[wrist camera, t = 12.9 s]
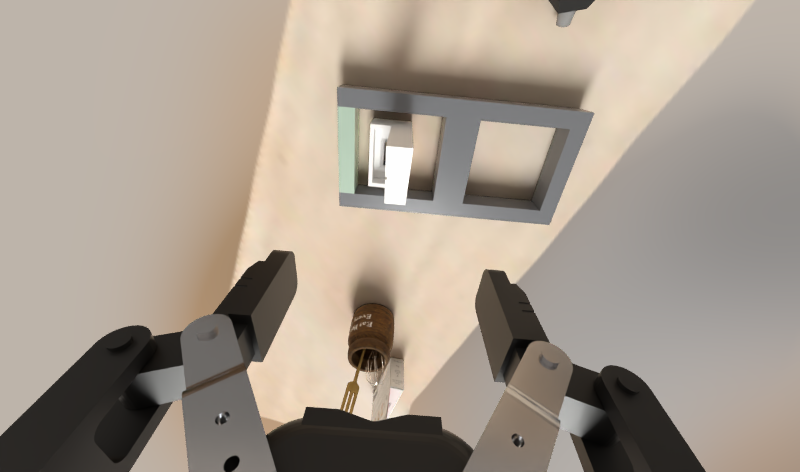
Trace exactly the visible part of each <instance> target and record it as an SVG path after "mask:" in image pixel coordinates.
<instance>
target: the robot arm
mask: <svg viewBox="0 0 800 472" xmlns="http://www.w3.org/2000/svg"><path fill="white" fill-rule="evenodd" d="M296 290H297V273H296V264H295V256H294V253H293V252H291V251H280V250H273V251H272V252H271V254H270V255H269V256H268V258H267V259H266V261H258V262H257V263H255V264H254V265H252V266H251V267H249V268H248V269H247V270H246V271H245V273H244V274H243V275H242V276H241V279H239V280H238V282H237V283H236V284H235V287H233V288H232V289H231V291H230V292H229V293H228V295H227V296H226V297H225V299H224V300H223V301H222V303H221V304H220V305H219V306H218V308H217V309H216V310H215V312H214V313H213V314H211V315H207V316H203V317H201V318H199V319H196V320H195V321H193V322H192V323H190V324H189V325H188V326H187V327H186V328H185V329H184V330H183V331H181V332H176V333H170V334H164V335H158V336H152V334H151V332H150V330H149V329H148V328H146V327H144V326H139V325H137V326H128V327H124V328H121V329H118V330H116V331H113V332H111V333H109V334H107V335H106V336H104V337H102V338H101V339H100V340H98V341H97V342H96V343H95V344H94V345H93V346H92V347H91V348H90V349H89V350H88V351H87V352H86V353H85V354H84V355H83V356H82V357H81V358H80V359H79V360H78V361H77V362H76V363H75V364H74V365H73V366H72V367H71V368H70V369H69V370H68V371H66V372H65V373H64V374H63V375H62V376H61V377H60V378H59V379H58V380H57V381H56V382H55V383H54V384H53V385H52V386H51V387H50V388H49V389H48V390H47V391H46V392H45V393H44V394H43V395H42V396H41V397H40V398H39V399H38V400H37V401H36V402H35V403H34V404H33V405H32V406H31V407H30V408H29V409H28V410H27V411H26V412H25V413H23V414H22V416H21V417H20V418H18V419H17V420H16V421H15V422H14V423H13V424H12V425H11V426H10V427H9V428H8V429H7V430H6V431H5V432H4V433H3V434H2V435H1V436H0V472H129V471H130V470H131V468H132V467H133V465H134V463H135V462H136V460H137V458H138V457H139V455H140V454H141V452H142V450H143V449H144V447H145V446H146V444H147V442H148V441H149V439H150V438H151V436H152V434H153V433H154V431H155V430H156V428H157V426H158V425H159V423H160V422H161V420H162V418H163V417H164V415H165V414H166V412H167V410H168V409H169V407H170V405H171V404H172V402H173V401H177V400H182V408H183V417H184V428H185V437H186V447H187V458H188V466H189V467H188V468H189V472H547V468H548V465H549V462H550V459H551V455H552V452H553V449H554V445H555V442H556V439H557V435H558V431H559V428H560V429H562V430H565V431H567V432H569V433H570V435H571V437H572V440H573V443H574V446H575V448H576V451H577V453H578V456H579V459H580V462H581V464H582V467H583V470H584V472H706V471H705V470H704V468H703V467H702V466H701V464H700V462H699V461H698V459H697V458H696V456H695V455H694V453H693V452H692V450H691V449H690V447H689V446H688V444H687V443H686V442H685V440H684V439H683V437H682V436H681V434H680V432H679V431H678V430H677V428H676V427H675V425H674V424H673V422H672V421H671V419H670V418H669V416H668V415H667V413H666V412H665V410H664V409H663V407H662V406H661V404H660V403H659V401H658V400H657V398H656V397H655V395H654V394H653V392H652V391H651V389H650V388H649V387H648V385H647V384H646V383H645V382H644V381H643V380H642V379H641V378H639V377H638V376H637V375H635V374H634V373H632V372H630V371H628V370H627V369H624V368H622V367H618V366H613V365H610V366H606V367H604V368H603V369H602V371H601V372H600V373H597V372H594V371H591V370H589V369H586V368H583V367H580V366H577V365H575V364H573V363H572V362H571V360H570V359H569V357H568V356H567V355H566V354H565V352H563V351H562V350H561V349H560V348H558V347H557V346H555V345H553V344H551V343H550V342H549V340H548V338H547V336H546V334H545V332H544V330H543V328H542V326H541V325H540V322H539V320H538V318H537V316H536V314H535V313H534V310H533V308H532V306H531V305H530V302H529V300H528V298H527V296H526V294H525V293H524V292H523V291H522V290H521V289H520V288H519V287H518V286H517V285H516V284H510V282H509V280H508V278H507V275H506V273H505V272H504V271H499V270H487V269H486V270H485V271H484V272H483V275H482V279H481V282H480V285H479V289H478V292H477V295H476V300H475V309H476V313H477V317H478V321H479V325H480V329H481V332H482V336H483V340H484V343H485V347H486V351H487V355H488V358H489V363H490V366H491V370H492V374H493V378H494V381H495V382H505V383H506V389H505V391H504V393H503V395H502V397H501V399H500V401H499V403H498V405H497V407H496V409H495V410H494V413H493V414H492V416H491V418H490V420H489V422H488V424H487V426H486V428H485V430H484V432H483V434H482V436H481V438H480V440H479V441H478V443H477V445H476V447H475V449H474V450H473V449H472V448H471V447H470V446H469V445H468V444H467V443H466V442H465V441H463V440H462V439H461V438H459V437H458V436H456V435H455V434H453V433H451V432H449V431H447V430H445V429H442V422H441V417H432V416H418V415H404V416H399V417H394V418H389V419H385V420H380V421H370V420H367V419H364V418H361V417H359V416H356V415H353V414H351V413H348V412H345V411H343V410H340V409H328V408H315V407H306V410H305V413H304V416H303V418H301V419H297V420H294V421H291V422H288V423H286V424H284V425H281V426H280V427H278V428H277V429H274V430H273V431H271V432H270V433H269V434H267V435H266V434H265V431H264V428H263V424H262V421H261V418H260V414H259V411H258V408H257V404H256V401H255V398H254V394H253V391H252V388H251V384H250V381H249V378H248V374H247V371H246V370H247V368H248V366H249V365H250V363H251V361H255V362H263V360H264V358H265V356H266V354H267V352H268V350H269V348H270V345H271V343H272V341H273V339H274V337H275V335H276V333H277V331H278V329H279V327H280V325H281V323H282V321H283V319H284V317H285V315H286V312H287V310H288V308H289V306H290V304H291V302H292V300H293V298H294V296H295V293H296Z"/></svg>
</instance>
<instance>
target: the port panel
mask: <svg viewBox="0 0 800 472" xmlns="http://www.w3.org/2000/svg"><path fill="white" fill-rule="evenodd" d="M337 101H338V152H339V202H340V206H347V207H358V208H369V209H380V210H391V211H402V212H413V213H424V214H435V215H446V216H457V217H468V218H479V219H490V220H501V221H512V222H523V223H534V224H545V225H549V224H550V222H551V219H552V217H553V215H554V212H555V210H556V207H557V205H558V202H559V200H560V197H561V195H562V192H563V190H564V187H565V185H566V182H567V180H568V177H569V175H570V172H571V170H572V167H573V165H574V162H575V160H576V157H577V155H578V152H579V150H580V148H581V145H582V143H583V140H584V138H585V135H586V133H587V130H588V128H589V125H590V123H591V120H592V118H593V115H594V113H593V112H590V111H586V110H583V109H578V108H568V107H558V106H548V105H538V104H528V103H519V102H509V101H499V100H489V99H479V98H469V97H459V96H449V95H439V94H429V93H420V92H410V91H400V90H390V89H380V88H370V87H360V86H350V85H341V86H338V87H337ZM359 108H360V109H370V110H380V111H390V112H400V113H410V114H420V115H431V116H441V117H443V120H442V127H441V133H440V140H439V146H438V153H437V159H436V166H435V172H434V179H433V185H432V191H421V190H410V189H408V190H407V197H406V204H405V205H397V204H386V203H384V198H385V188H383V187H372V186H367V185H358V145H359ZM480 121H491V122H501V123H511V124H521V125H531V126H541V127H552V128H556V131H555V134H554V137H553V140H552V143H551V146H550V148H549V151H548V154H547V157H546V160H545V163H544V166H543V169H542V171H541V174H540V177H539V180H538V183H537V186H536V189H535V191H534V194H533V197H532V200H531V201H529V200H518V199H507V198H497V197H486V196H475V195H465V190H466V186H467V181H468V176H469V172H470V167H471V163H472V158H473V153H474V149H475V144H476V140H477V135H478V131H479V126H480Z"/></svg>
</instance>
